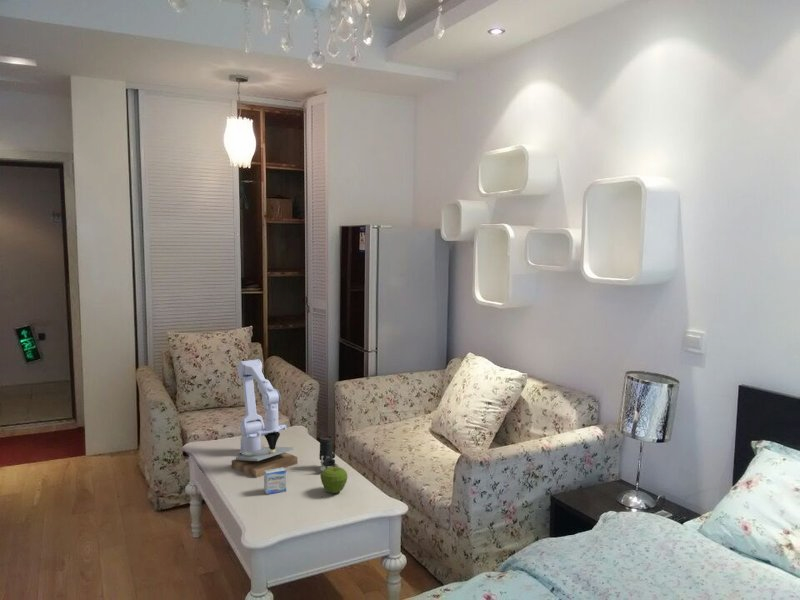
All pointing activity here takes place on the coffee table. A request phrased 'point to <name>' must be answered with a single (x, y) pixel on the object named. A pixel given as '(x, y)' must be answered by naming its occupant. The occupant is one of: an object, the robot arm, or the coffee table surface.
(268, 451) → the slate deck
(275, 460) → the walnut base
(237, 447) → the coffee table surface
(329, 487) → the apple
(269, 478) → the medicine box
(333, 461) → the scope
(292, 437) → the coffee table surface
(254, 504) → the coffee table surface
